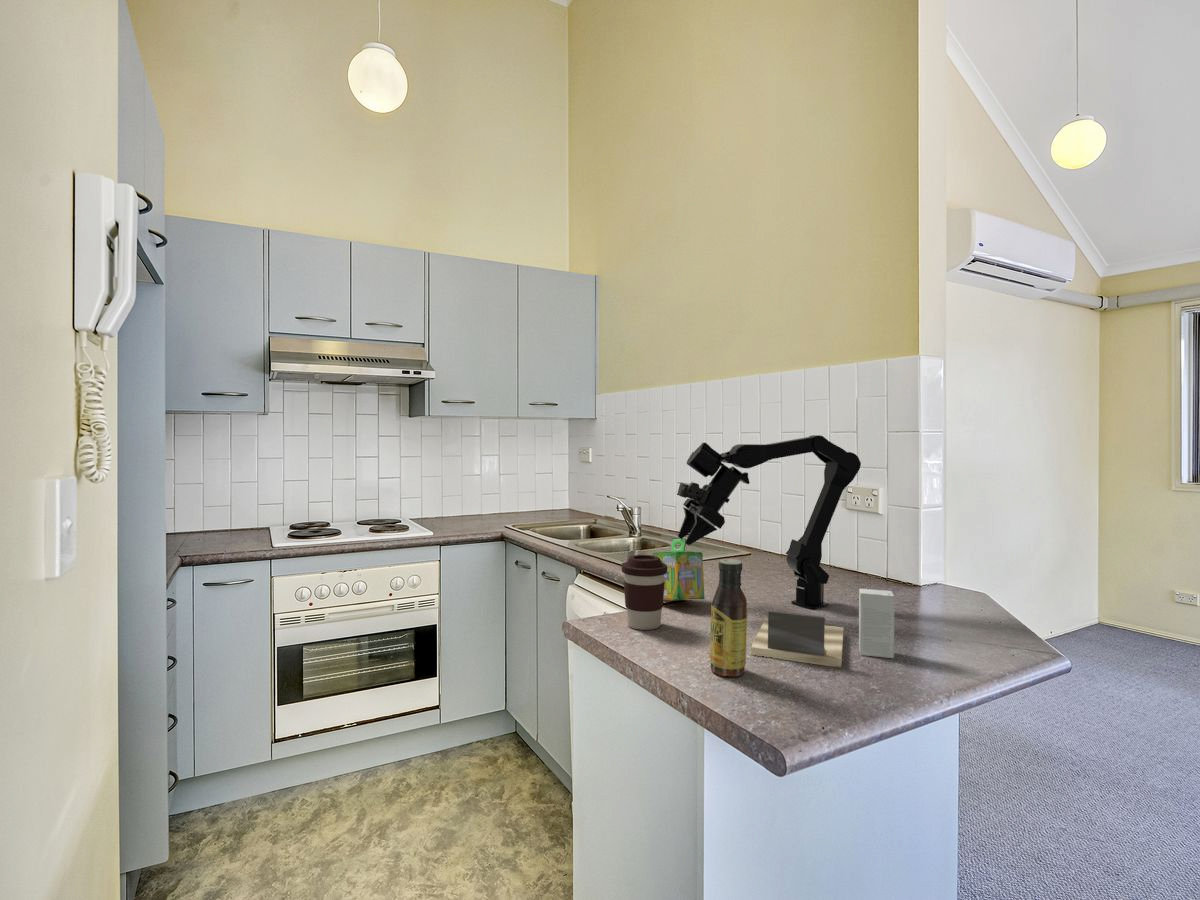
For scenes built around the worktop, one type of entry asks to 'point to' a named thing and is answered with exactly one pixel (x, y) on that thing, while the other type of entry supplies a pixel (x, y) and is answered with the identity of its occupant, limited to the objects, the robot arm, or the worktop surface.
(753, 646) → the base with upright panel
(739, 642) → the sauce bottle
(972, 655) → the worktop surface
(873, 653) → the skincare box
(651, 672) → the worktop surface
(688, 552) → the chalk box
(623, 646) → the worktop surface
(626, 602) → the coffee cup
